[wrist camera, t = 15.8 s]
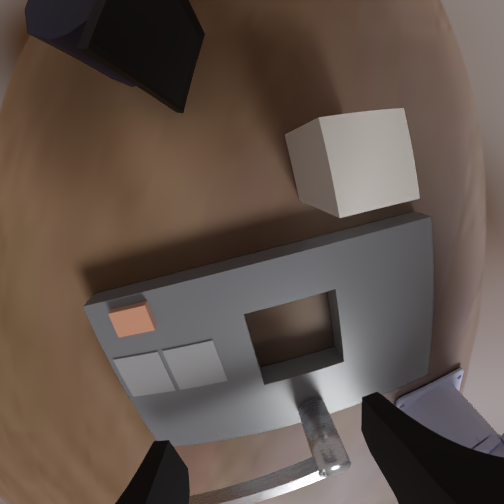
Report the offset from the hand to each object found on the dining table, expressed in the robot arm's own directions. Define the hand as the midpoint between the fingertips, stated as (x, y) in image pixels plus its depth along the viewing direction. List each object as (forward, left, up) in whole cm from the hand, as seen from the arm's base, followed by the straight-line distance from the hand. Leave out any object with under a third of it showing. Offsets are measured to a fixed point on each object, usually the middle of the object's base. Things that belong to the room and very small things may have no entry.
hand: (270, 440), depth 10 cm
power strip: (-2, -2, -10) cm, 11 cm away
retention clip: (-9, +2, -8) cm, 12 cm away
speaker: (+18, +2, -11) cm, 21 cm away
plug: (+8, -7, -10) cm, 15 cm away
